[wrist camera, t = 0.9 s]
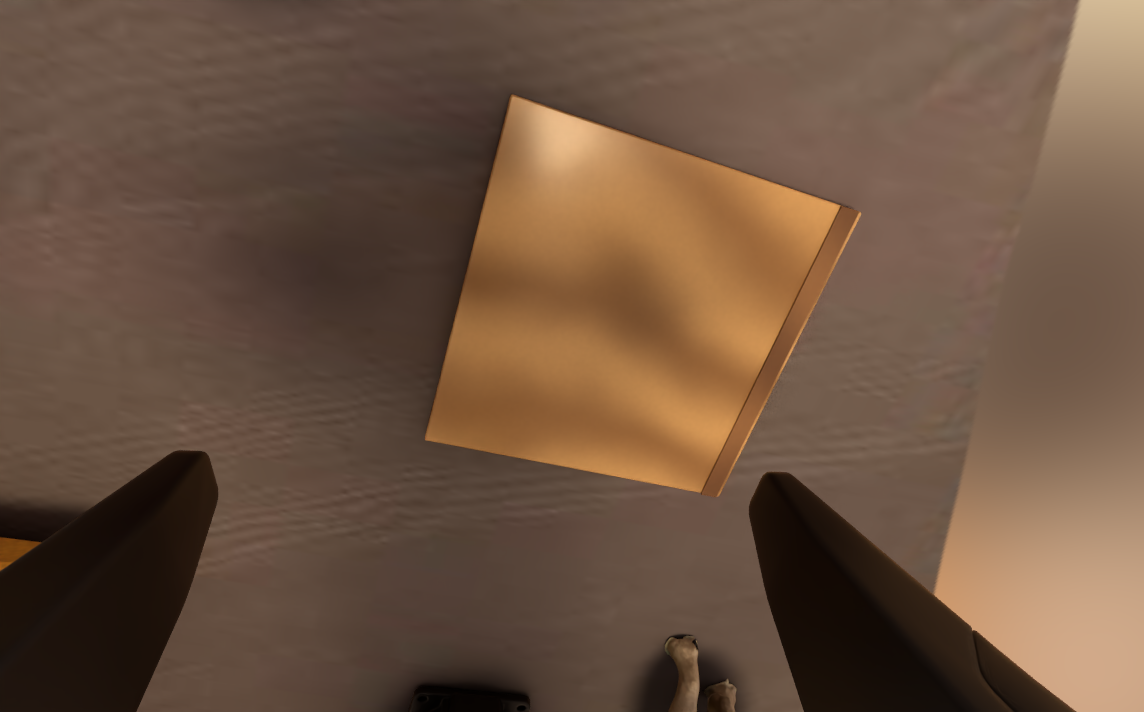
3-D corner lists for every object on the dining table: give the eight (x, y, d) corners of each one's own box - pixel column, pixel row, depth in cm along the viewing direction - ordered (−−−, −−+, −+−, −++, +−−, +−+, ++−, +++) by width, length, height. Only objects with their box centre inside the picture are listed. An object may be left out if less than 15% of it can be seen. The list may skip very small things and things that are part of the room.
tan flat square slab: (715, 488, 29) (719, 498, 28) (425, 432, 25) (423, 441, 25) (854, 209, 23) (864, 213, 23) (510, 93, 20) (511, 94, 19)
